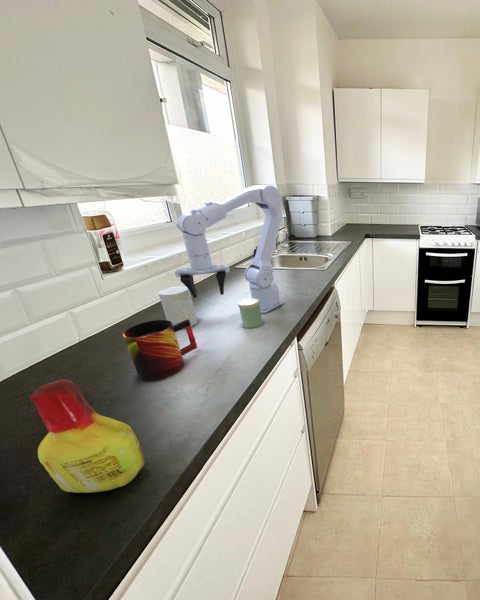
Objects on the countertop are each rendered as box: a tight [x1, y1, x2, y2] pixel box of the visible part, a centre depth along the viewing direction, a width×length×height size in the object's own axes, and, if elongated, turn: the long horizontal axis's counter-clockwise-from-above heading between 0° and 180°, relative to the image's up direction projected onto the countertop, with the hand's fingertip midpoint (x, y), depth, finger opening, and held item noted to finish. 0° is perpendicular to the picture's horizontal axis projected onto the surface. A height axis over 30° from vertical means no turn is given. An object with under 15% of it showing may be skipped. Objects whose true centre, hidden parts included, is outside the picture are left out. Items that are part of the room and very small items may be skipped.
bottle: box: [29, 379, 145, 494], centre depth 47 cm, size 12×6×20 cm, turn 100°
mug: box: [122, 319, 198, 382], centre depth 80 cm, size 10×14×12 cm
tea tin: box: [237, 297, 264, 329], centre depth 103 cm, size 6×6×8 cm
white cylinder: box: [158, 285, 199, 327], centre depth 103 cm, size 8×8×12 cm
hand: (209, 295), depth 101 cm, fingers open, 7 cm apart
